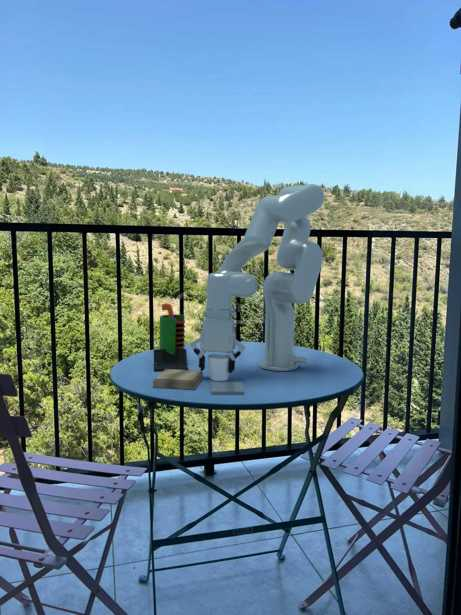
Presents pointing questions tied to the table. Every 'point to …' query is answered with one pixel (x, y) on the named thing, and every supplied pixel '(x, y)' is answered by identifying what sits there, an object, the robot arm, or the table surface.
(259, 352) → the table surface
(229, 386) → the slate coaster
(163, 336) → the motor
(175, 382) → the stand
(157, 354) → the handheld gaming console
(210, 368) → the white cup
